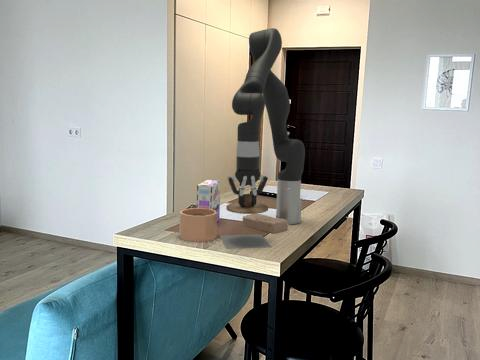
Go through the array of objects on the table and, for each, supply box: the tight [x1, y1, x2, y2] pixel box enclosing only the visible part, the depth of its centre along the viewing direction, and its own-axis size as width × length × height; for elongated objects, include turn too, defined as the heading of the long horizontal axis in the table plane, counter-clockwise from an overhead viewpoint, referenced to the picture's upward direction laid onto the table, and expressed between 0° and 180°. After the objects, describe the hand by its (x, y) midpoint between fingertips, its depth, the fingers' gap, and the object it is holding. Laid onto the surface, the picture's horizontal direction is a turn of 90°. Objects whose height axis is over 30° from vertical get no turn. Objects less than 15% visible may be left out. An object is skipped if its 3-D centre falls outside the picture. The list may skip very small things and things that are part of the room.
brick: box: [242, 213, 289, 234], centre depth 176 cm, size 17×8×5 cm, turn 45°
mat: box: [219, 233, 273, 250], centre depth 157 cm, size 15×15×1 cm
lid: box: [225, 193, 269, 215], centre depth 155 cm, size 14×14×5 cm
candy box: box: [196, 179, 221, 223], centre depth 179 cm, size 14×6×16 cm, turn 168°
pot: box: [179, 207, 218, 243], centre depth 161 cm, size 13×13×9 cm
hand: (247, 206), depth 155 cm, fingers closed on lid, 3 cm apart
